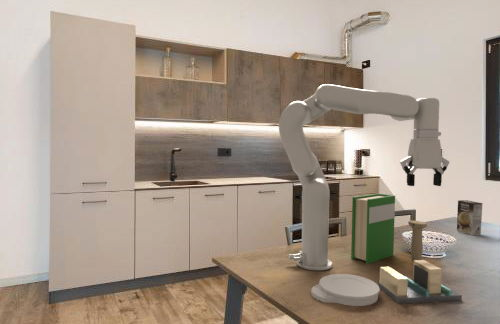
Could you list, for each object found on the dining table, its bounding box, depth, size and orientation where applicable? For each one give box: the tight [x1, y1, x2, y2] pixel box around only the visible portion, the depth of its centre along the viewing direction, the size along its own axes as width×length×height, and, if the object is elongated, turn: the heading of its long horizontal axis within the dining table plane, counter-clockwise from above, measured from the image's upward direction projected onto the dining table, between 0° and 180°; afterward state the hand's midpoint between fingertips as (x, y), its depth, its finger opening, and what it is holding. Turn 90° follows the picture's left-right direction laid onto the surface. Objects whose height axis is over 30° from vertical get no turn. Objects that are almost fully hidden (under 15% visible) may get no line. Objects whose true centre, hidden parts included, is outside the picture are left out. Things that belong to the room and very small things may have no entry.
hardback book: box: [350, 193, 396, 265], centre depth 138 cm, size 18×7×24 cm, turn 128°
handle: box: [407, 220, 428, 263], centre depth 133 cm, size 5×6×15 cm
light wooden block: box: [412, 259, 442, 294], centre depth 104 cm, size 8×4×7 cm, turn 8°
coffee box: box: [456, 199, 483, 236], centre depth 178 cm, size 9×6×16 cm
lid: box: [310, 273, 381, 307], centre depth 103 cm, size 17×20×3 cm
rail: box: [377, 266, 463, 305], centre depth 104 cm, size 19×12×6 cm, turn 98°
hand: (423, 185), depth 119 cm, fingers open, 9 cm apart
